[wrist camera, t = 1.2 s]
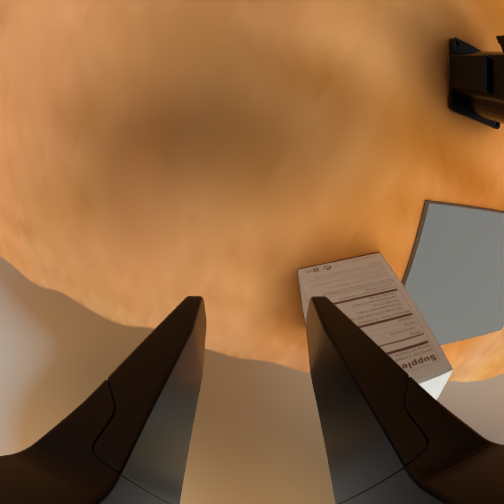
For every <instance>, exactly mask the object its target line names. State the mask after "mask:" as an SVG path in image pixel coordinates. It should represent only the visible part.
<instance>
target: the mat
mask: <svg viewBox="0 0 504 504" xmlns="http://www.w3.org/2000/svg"><path fill="white" fill-rule="evenodd" d="M402 284H403V286H404V287H405V289H406V290H407V292H408V294H409V295H410V297H411V298H412V300H413V301H414V303H415V304H416V306H417V308H418V309H419V311H420V312H421V314H422V316H423V317H424V319H425V321H426V322H427V324H428V326H429V327H430V329H431V331H432V333H433V334H434V336H435V338H436V339H437V341H438V343H439V345H443V344H448V343H452V342H457V341H461V340H465V339H469V338H473V337H477V336H481V335H484V334H488V333H492V332H495V331H498V330H502V328H503V326H504V212H502V211H497V210H491V209H485V208H478V207H472V206H465V205H458V204H450V203H442V202H434V201H425V206H424V210H423V214H422V218H421V222H420V226H419V230H418V233H417V237H416V240H415V244H414V247H413V251H412V254H411V257H410V260H409V263H408V267H407V270H406V273H405V276H404V279H403V281H402Z"/></svg>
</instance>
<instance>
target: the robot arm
mask: <svg viewBox="0 0 504 504" xmlns="http://www.w3.org/2000/svg"><path fill="white" fill-rule="evenodd" d="M496 37H497V40H498V43H499V44H500V45H501V48H502V51H503V52H482V51H480V50H478V49H476V48H475V47H473V46H471V45H469V44H467V43H465V42H464V41H462V40H460V39H458V38H450V41H449V43H450V89H449V109H450V110H451V111H452V112H455V113H457V114H460V115H463V116H466V117H468V118H471V119H473V120H476V121H478V122H481V123H483V124H485V125H488V126H490V127H492V128H495V129H499V127H500V123H503V124H504V35H503V36H496ZM455 43H456V45H455ZM454 104H455V108H454ZM495 122H496V124H495ZM306 331H307V341H308V352H309V363H310V373H311V379H312V384H313V389H314V393H315V398H316V402H317V407H318V412H319V417H320V422H321V427H322V432H323V437H324V442H325V448H326V453H327V458H328V464H329V469H330V474H331V480H332V485H333V491H334V497H335V503H336V504H504V445H501V444H497V443H494V442H491V441H489V440H487V439H485V438H484V437H482V436H481V435H479V434H478V433H477V432H476V431H474V430H473V429H472V428H471V427H469V426H468V425H467V424H465V423H464V422H463V421H461V420H460V419H459V418H458V417H457V416H455V415H454V414H453V413H451V412H450V411H449V410H447V409H446V408H445V407H444V406H443V405H441V404H440V403H439V402H438V401H437V400H436V399H434V398H433V397H432V396H431V395H430V394H429V393H428V392H427V391H426V390H425V389H424V388H422V387H421V386H420V385H419V384H418V383H417V382H416V381H415V380H414V379H413V378H412V377H409V374H408V373H407V372H406V371H405V370H404V369H403V368H401V367H400V366H399V365H398V364H397V363H396V362H395V361H394V360H393V359H392V358H391V357H390V356H389V355H388V354H387V353H386V352H385V351H384V350H383V349H382V348H381V347H379V346H378V345H377V344H376V343H375V342H374V341H373V340H372V339H371V338H370V337H369V336H368V335H367V334H366V333H365V332H364V331H363V330H361V329H360V328H359V327H358V326H357V325H356V324H355V323H354V322H353V321H352V320H351V319H350V318H349V317H348V316H347V315H345V314H344V313H343V312H342V311H341V310H340V309H339V308H338V307H337V306H336V305H335V304H334V303H333V302H331V301H330V300H329V299H328V298H327V297H325V296H313V297H311V298H310V301H309V306H308V312H307V317H306ZM205 336H206V314H205V306H204V300H203V298H202V297H201V296H188V297H186V298H185V299H184V300H183V301H182V302H181V303H180V304H179V305H178V306H177V307H176V308H175V309H174V310H173V311H172V312H171V313H170V314H169V315H168V316H167V317H166V318H165V319H164V320H163V321H162V322H161V323H160V324H159V325H158V326H157V327H156V328H155V329H154V330H153V331H152V333H151V334H150V335H149V336H148V337H147V338H146V339H145V340H144V341H143V342H142V343H141V344H140V345H139V346H138V347H137V348H136V349H135V350H134V351H133V352H132V353H131V354H130V355H129V356H128V357H127V358H126V359H125V360H124V361H123V362H122V363H121V364H120V365H119V366H118V367H117V368H116V370H115V371H114V372H113V373H112V374H111V375H110V376H109V377H108V380H105V381H104V382H103V383H102V384H101V385H100V386H99V387H98V388H97V389H96V390H95V391H94V392H93V393H92V394H91V395H90V396H89V397H88V398H87V399H86V400H85V401H84V402H83V403H82V404H81V405H80V406H78V407H77V408H76V409H75V410H74V411H73V412H72V413H70V414H69V415H68V416H67V417H66V418H65V419H63V420H62V421H61V422H60V423H59V424H57V425H56V426H55V427H54V428H53V429H51V430H50V431H49V432H48V433H47V434H45V435H44V436H43V437H42V438H41V439H39V440H38V441H37V442H36V443H34V444H33V445H32V446H30V447H28V448H27V449H25V450H23V451H21V452H18V453H15V454H11V455H5V456H0V504H180V497H181V491H182V484H183V479H184V473H185V468H186V462H187V456H188V450H189V445H190V439H191V434H192V428H193V423H194V418H195V412H196V407H197V402H198V397H199V392H200V386H201V381H202V375H203V363H204V350H205Z"/></svg>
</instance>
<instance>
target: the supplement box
mask: <svg viewBox="0 0 504 504" xmlns="http://www.w3.org/2000/svg"><path fill="white" fill-rule="evenodd" d="M298 276H299V284H300V291H301V299H302V306H303V312H304V318H305V324H306V317H307V312H308V306H309V301H310V298H311V297H313V296H325V297H327V298H328V299H329V300H330V301H331V302H333V303H334V304H335V305H336V306H337V307H338V308H339V309H340V310H341V311H342V312H343V313H344V314H345V315H347V316H348V317H349V318H350V319H351V320H352V321H353V322H354V323H355V324H356V325H357V326H358V327H359V328H360V329H361V330H363V331H364V332H365V333H366V334H367V335H368V336H369V337H370V338H371V339H372V340H373V341H374V342H375V343H376V344H377V345H378V346H379V347H381V348H382V349H383V350H384V351H385V352H386V353H387V354H388V355H389V356H390V357H391V358H392V359H393V360H394V361H395V362H396V363H397V364H398V365H399V366H400V367H401V368H403V369H404V370H405V371H406V372H407V373H408V374H409V377H412V378H413V379H414V380H415V381H416V382H417V383H418V384H419V385H420V386H421V387H422V388H424V389H425V390H426V391H427V392H428V393H429V394H430V395H431V396H432V397H433V398H434V399H436V400H437V398H438V396H439V394H440V393H441V391H442V389H443V387H444V385H445V384H446V382H447V380H448V378H449V376H450V375H451V373H452V371H453V368H452V367H451V365H450V363H449V361H448V359H447V358H446V356H445V354H444V352H443V350H442V348H441V347H440V345H439V343H438V341H437V339H436V338H435V336H434V334H433V333H432V331H431V329H430V327H429V326H428V324H427V322H426V321H425V319H424V317H423V316H422V314H421V312H420V311H419V309H418V308H417V306H416V304H415V303H414V301H413V300H412V298H411V297H410V295H409V294H408V292H407V290H406V289H405V287H404V286H403V284H402V283H401V281H400V280H399V279H398V277H397V276H396V274H395V273H394V271H393V270H392V268H391V267H390V266H389V264H388V263H387V261H386V260H385V259H384V257H383V256H382V254H381V253H375V254H370V255H365V256H361V257H355V258H351V259H346V260H341V261H336V262H332V263H326V264H322V265H317V266H312V267H307V268H303V269H299V270H298Z"/></svg>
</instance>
